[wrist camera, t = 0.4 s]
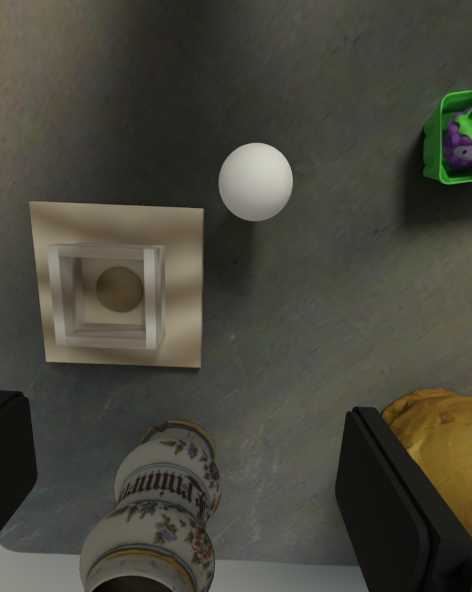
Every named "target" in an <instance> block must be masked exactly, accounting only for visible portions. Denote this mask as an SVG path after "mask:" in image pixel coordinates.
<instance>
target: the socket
mask: <svg viewBox="0 0 472 592" xmlns="http://www.w3.org/2000/svg"><path fill="white" fill-rule="evenodd" d="M29 205H30V214H31V224H32V233H33V242H34V252H35V261H36V271H37V280H38V289H39V299H40V308H41V317H42V327H43V336H44V345H45V355H46V362H67V363H94V364H120V365H147V366H173V367H201V363H202V318H203V257H204V209H203V208H180V207H156V206H132V205H108V204H84V203H59V202H35V201H29Z"/></svg>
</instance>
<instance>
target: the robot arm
mask: <svg viewBox="0 0 472 592" xmlns="http://www.w3.org/2000/svg"><path fill="white" fill-rule="evenodd" d="M36 480H37V466H36V457H35V449H34V440H33V431H32V423H31V414H30V405H29V400H28V398H27V397H24V395H23V393H22V392H20V391H3V390H0V531H1V530H2V529H3V527H4V526H5V525H6V523H7V522H8V521H9V519H10V518H11V517H12V515H13V514H14V513H15V511H16V510H17V509H18V507H19V506H20V505H21V503H22V502H23V501H24V499H25V498H26V497H27V495H28V494H29V493H30V491H31V490H32V489H33V487H34V485H35V483H36ZM335 493H336V500H337V503H338V506H339V509H340V511H341V514H342V517H343V520H344V523H345V525H346V528H347V531H348V534H349V537H350V540H351V542H352V545H353V548H354V551H355V554H356V557H357V559H358V562H359V565H360V568H361V571H362V573H363V576H364V579H365V582H366V585H367V588H368V590H369V592H472V537H471V536H470V534H469V533H468V532H467V530H466V529H465V528H464V526H463V525H462V523H461V522H460V521H459V519H458V518H457V517H456V515H455V514H454V513H453V511H452V510H451V509H450V507H449V506H448V504H447V503H446V502H445V500H444V499H443V498H442V496H441V495H440V494H439V492H438V491H437V489H436V488H435V487H434V485H433V484H432V483H431V481H430V480H429V479H428V477H427V476H426V475H425V473H424V472H423V470H422V469H421V468H420V466H419V465H418V464H417V463H416V462H415V460H414V459H412V457H411V456H410V454H409V453H408V452H407V450H406V449H405V448H404V446H403V445H402V444H401V442H400V441H399V439H398V438H397V437H396V435H395V434H394V433H393V431H392V430H391V428H390V427H389V426H388V424H387V423H386V422H385V420H384V419H383V418H382V416H381V415H380V413H379V412H378V411H377V409H375V408H373V407H354V408H353V410H352V412H350V411H348V412H347V414H346V419H345V425H344V432H343V439H342V445H341V452H340V459H339V466H338V472H337V479H336V486H335Z"/></svg>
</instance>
